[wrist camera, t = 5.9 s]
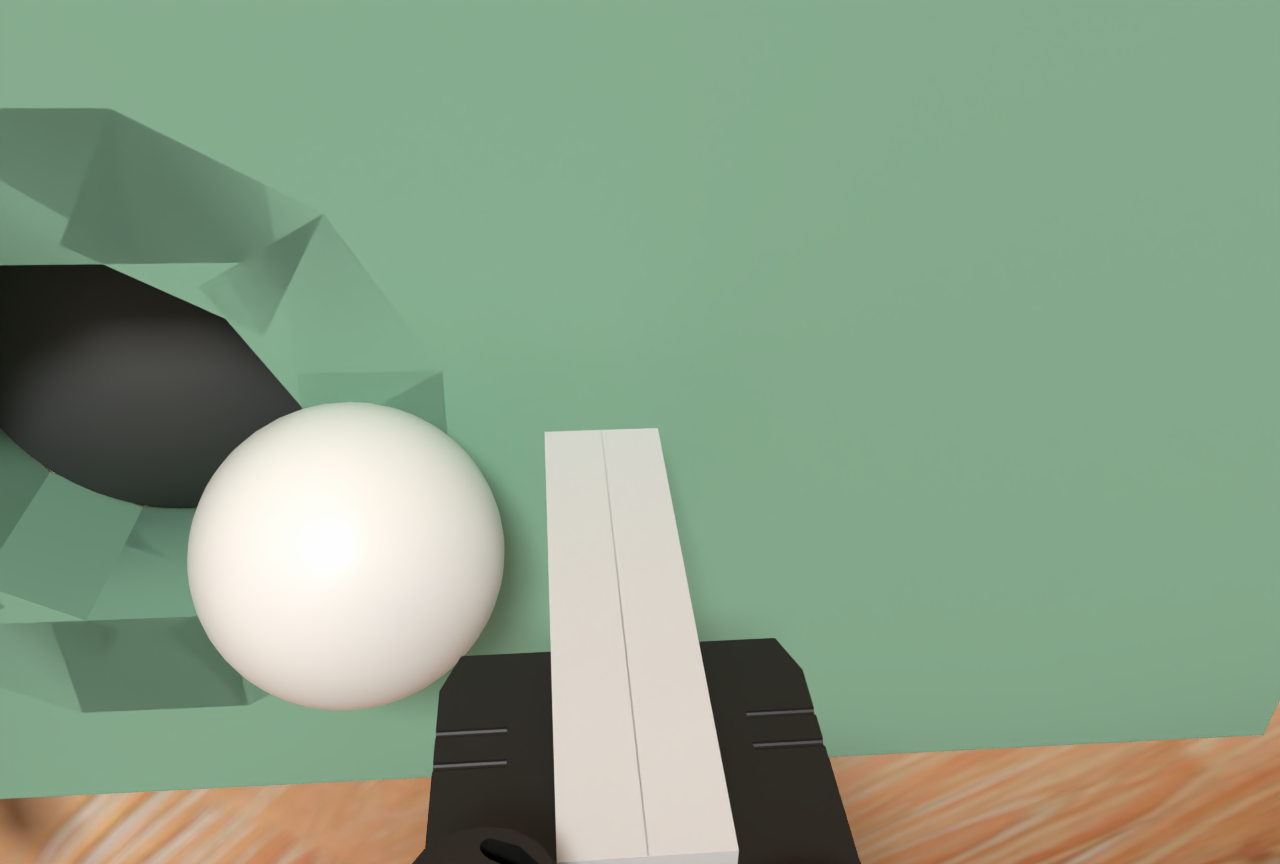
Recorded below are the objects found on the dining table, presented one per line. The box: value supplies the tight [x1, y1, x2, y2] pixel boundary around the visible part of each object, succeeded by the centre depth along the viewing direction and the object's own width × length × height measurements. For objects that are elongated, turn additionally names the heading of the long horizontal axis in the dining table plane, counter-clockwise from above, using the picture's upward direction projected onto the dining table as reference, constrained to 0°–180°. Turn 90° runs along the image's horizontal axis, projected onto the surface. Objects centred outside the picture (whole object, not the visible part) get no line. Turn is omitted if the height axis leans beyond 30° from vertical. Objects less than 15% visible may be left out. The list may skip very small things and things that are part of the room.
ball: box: [187, 402, 504, 711], centre depth 14 cm, size 4×4×4 cm
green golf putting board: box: [0, 0, 1280, 799], centre depth 17 cm, size 14×26×5 cm, turn 89°
